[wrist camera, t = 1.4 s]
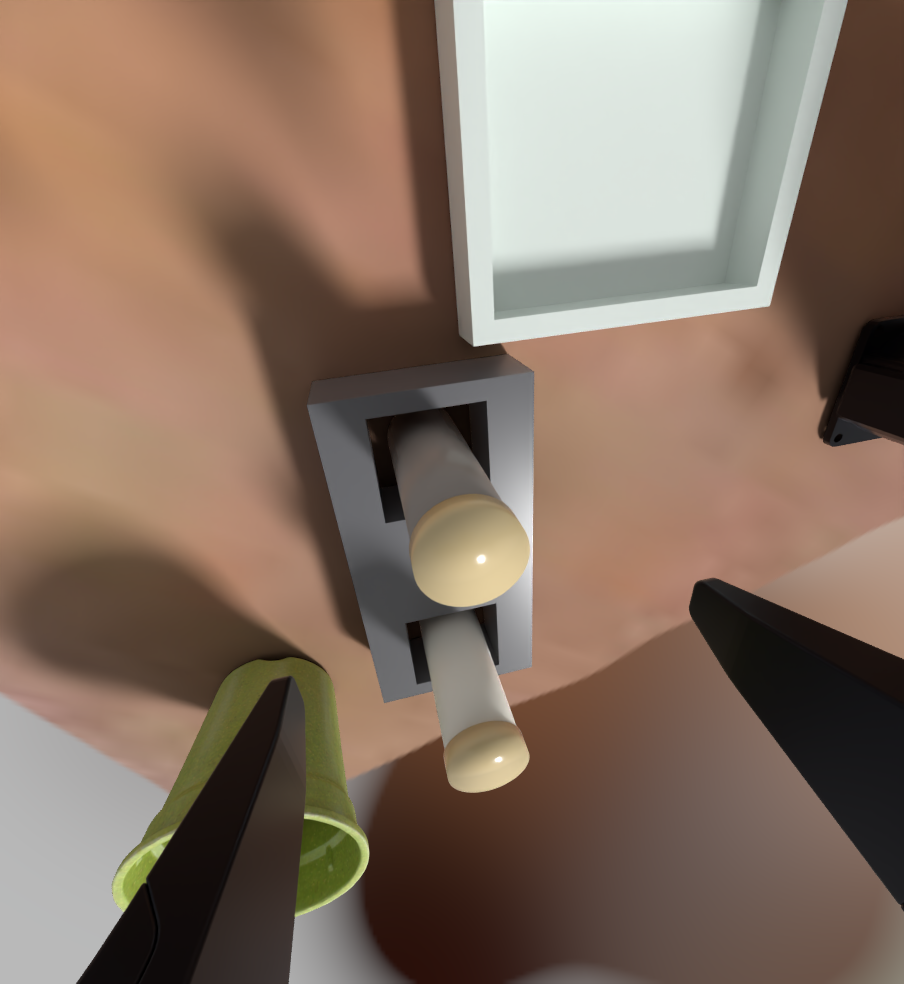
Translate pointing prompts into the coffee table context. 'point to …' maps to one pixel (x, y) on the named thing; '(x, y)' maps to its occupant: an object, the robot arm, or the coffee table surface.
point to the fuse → (471, 705)
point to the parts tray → (624, 155)
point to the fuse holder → (379, 513)
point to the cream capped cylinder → (453, 513)
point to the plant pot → (328, 810)
